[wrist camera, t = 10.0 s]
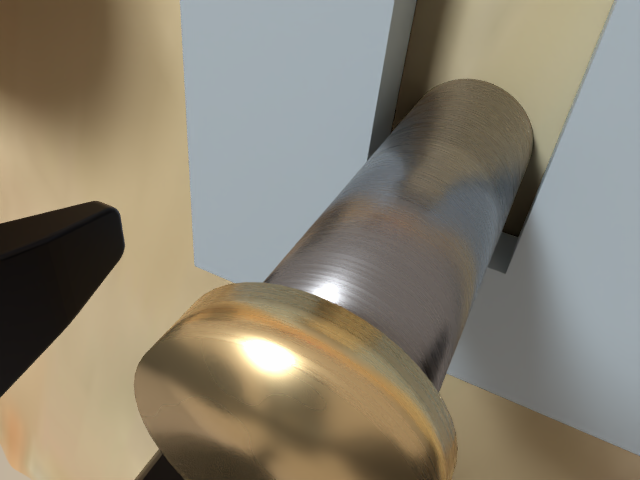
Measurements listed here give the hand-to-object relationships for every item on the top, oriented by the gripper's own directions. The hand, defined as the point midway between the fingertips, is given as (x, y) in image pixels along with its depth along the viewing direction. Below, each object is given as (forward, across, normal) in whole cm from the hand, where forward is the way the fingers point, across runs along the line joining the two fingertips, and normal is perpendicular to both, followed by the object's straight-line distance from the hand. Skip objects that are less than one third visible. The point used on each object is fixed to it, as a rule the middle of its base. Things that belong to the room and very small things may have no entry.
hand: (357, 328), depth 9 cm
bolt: (+7, 0, 0) cm, 7 cm away
